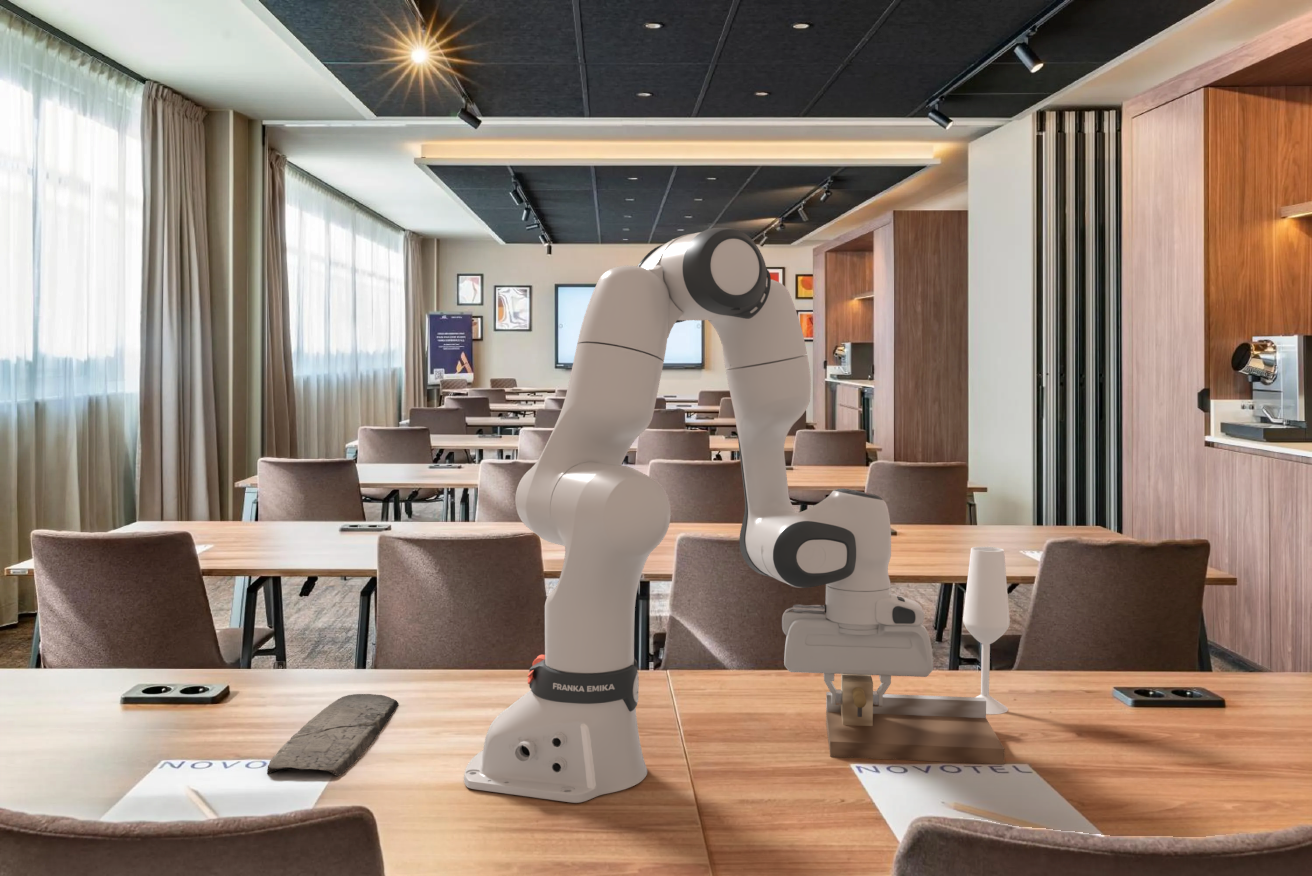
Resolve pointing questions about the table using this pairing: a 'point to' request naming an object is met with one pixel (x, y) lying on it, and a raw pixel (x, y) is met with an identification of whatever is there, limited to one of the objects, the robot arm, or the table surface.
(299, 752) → the stone slab
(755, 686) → the table surface
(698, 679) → the table surface
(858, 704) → the marking gauge
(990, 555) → the champagne flute
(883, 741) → the walnut board
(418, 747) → the table surface
